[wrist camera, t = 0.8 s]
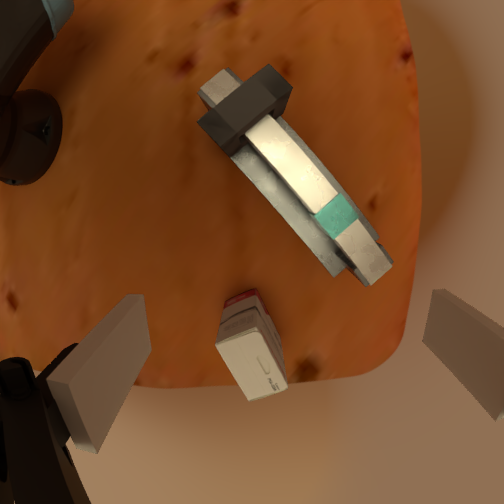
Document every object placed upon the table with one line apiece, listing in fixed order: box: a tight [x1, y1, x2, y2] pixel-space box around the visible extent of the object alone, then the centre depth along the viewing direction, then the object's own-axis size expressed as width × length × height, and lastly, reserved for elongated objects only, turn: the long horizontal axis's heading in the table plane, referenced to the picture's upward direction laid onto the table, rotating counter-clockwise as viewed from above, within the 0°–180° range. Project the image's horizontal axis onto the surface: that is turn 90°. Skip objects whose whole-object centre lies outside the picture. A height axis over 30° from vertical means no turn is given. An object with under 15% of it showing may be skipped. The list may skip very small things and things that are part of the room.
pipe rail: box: [197, 68, 393, 287], centre depth 33 cm, size 26×8×10 cm, turn 42°
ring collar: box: [197, 64, 293, 158], centre depth 28 cm, size 3×8×10 cm, turn 131°
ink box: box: [215, 289, 288, 401], centre depth 36 cm, size 9×5×12 cm, turn 24°
